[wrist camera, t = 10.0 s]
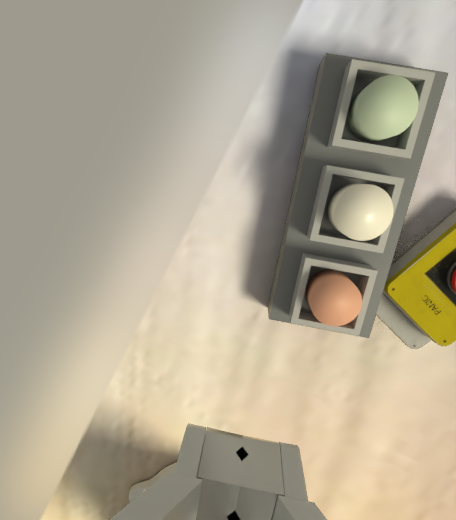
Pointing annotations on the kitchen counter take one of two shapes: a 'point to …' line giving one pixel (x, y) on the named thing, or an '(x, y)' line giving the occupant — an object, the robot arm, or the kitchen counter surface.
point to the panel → (339, 175)
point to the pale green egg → (383, 108)
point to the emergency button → (423, 289)
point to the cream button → (360, 211)
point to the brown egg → (333, 298)
